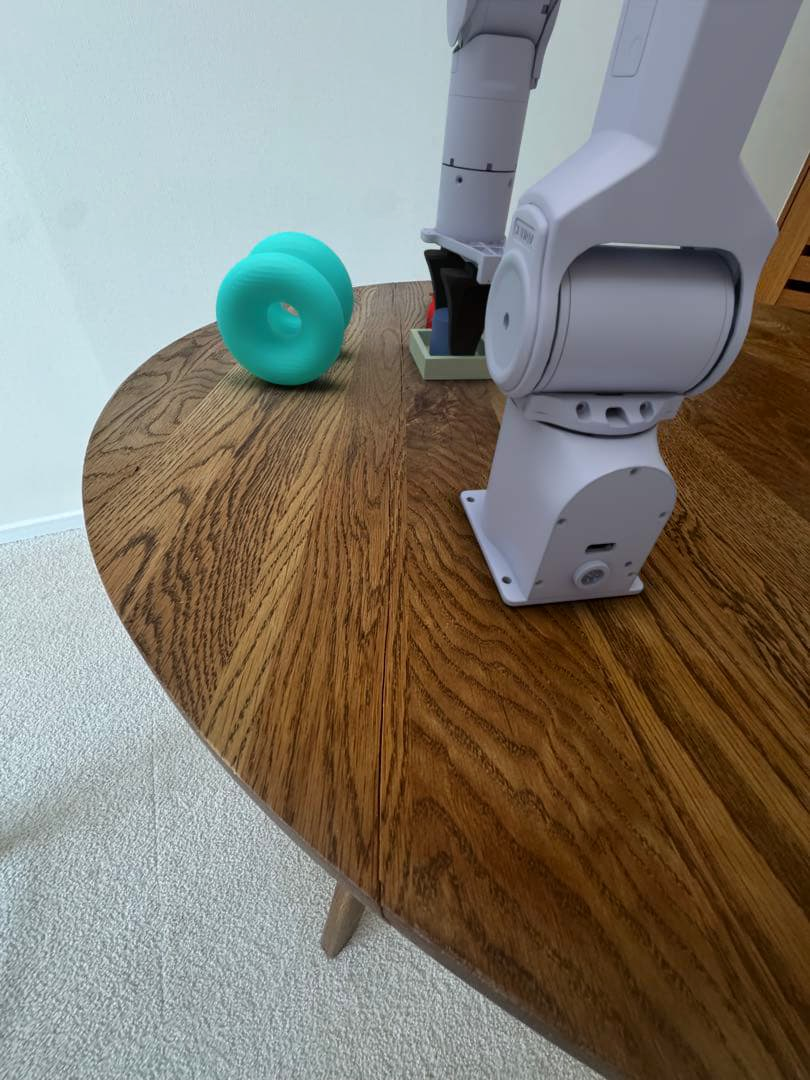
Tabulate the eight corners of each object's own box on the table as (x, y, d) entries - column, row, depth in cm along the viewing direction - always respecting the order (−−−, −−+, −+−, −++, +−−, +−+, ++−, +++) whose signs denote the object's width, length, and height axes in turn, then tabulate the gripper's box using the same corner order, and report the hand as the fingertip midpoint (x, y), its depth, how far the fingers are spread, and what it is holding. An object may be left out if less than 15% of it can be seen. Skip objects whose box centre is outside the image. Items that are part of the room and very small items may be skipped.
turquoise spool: (355, 349, 50) (355, 233, 43) (342, 396, 42) (340, 264, 35) (253, 341, 49) (238, 223, 43) (222, 386, 42) (198, 251, 35)
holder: (498, 379, 47) (502, 358, 46) (423, 380, 46) (425, 358, 44) (476, 348, 52) (479, 328, 51) (408, 348, 51) (410, 328, 49)
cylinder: (479, 367, 47) (487, 324, 45) (434, 368, 46) (439, 323, 44) (467, 349, 50) (473, 307, 48) (424, 349, 50) (428, 306, 47)
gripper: (409, 152, 43) (399, 316, 52) (451, 178, 33) (429, 378, 42) (488, 157, 44) (464, 317, 53) (553, 184, 34) (510, 377, 43)
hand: (454, 344), depth 48 cm, fingers closed on cylinder, 4 cm apart
